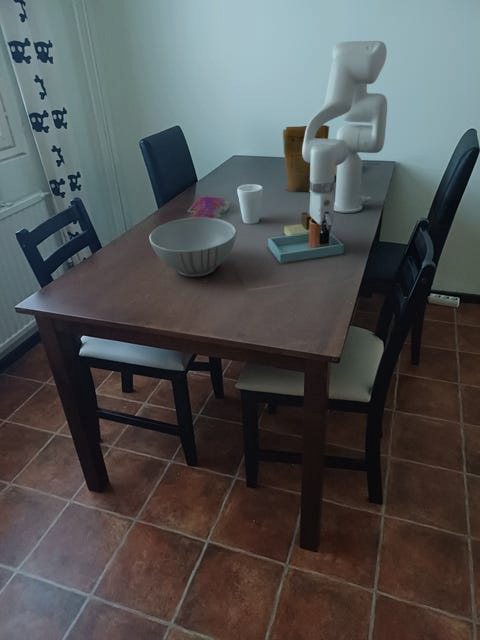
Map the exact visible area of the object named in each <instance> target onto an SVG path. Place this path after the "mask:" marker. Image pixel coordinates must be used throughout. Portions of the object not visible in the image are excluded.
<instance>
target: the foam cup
mask: <svg viewBox="0 0 480 640" xmlns="http://www.w3.org/2000/svg"><path fill="white" fill-rule="evenodd" d="M236 188H237V189H236V191H237V192H236V193H237V196H238V200H239V207H240V212H241V218H242V222H243V223H244V224H247V225H254V224H257V223H259V222H260V216H261V208H262V199H263V192H264V191H263V186H262V185H260V184H257V183H256V184H255V183H254V184H253V183H247V184H242V185H240V186H238V187H236Z"/></svg>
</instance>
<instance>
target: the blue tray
mask: <svg viewBox="0 0 480 640" xmlns="http://www.w3.org/2000/svg"><path fill="white" fill-rule="evenodd" d="M267 243H268V245H267V246H268V249H269V250H270V251H271V253H272V254H273V255H274V256H275V258H276V259H277V261H278V262H279V263H280V264H284V263H290V262H291V263H292V262H298V261H302V260H309V259H316V258H323V257H330V256H336V255H342V254H344V250H345V249H344V248H345V245H344V243H343V242H342V241H340V240H339V239H338V237H336V236H335V235H334V234H333V233H332V232H330V242H329V246H326V247H320V248H313V249H309V233H303V234H296V235H289V236H286V235H284V236H283V235H282V236H276V237H269V238H267Z"/></svg>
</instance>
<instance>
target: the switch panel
mask: <svg viewBox="0 0 480 640" xmlns="http://www.w3.org/2000/svg"><path fill="white" fill-rule="evenodd" d="M283 232H284V236H289V235H296V234H303V233H309V229H308V230H306V229H305V228H304V227H303V226H302V225H301V223H299V224H291V225H285V226H284V228H283Z"/></svg>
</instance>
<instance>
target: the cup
mask: <svg viewBox="0 0 480 640" xmlns="http://www.w3.org/2000/svg"><path fill="white" fill-rule="evenodd" d="M322 223H326V221H323V222H322ZM324 227H326V225H323V229H324ZM320 232H321V230H320V225H319V224H318V223H317V222H316V221H315V220H314V219H310V221H309V249H313V248H320V247H326V246H329V243H327V244H319V234H320ZM330 233H331V231H330V232H329V242H330Z"/></svg>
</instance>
